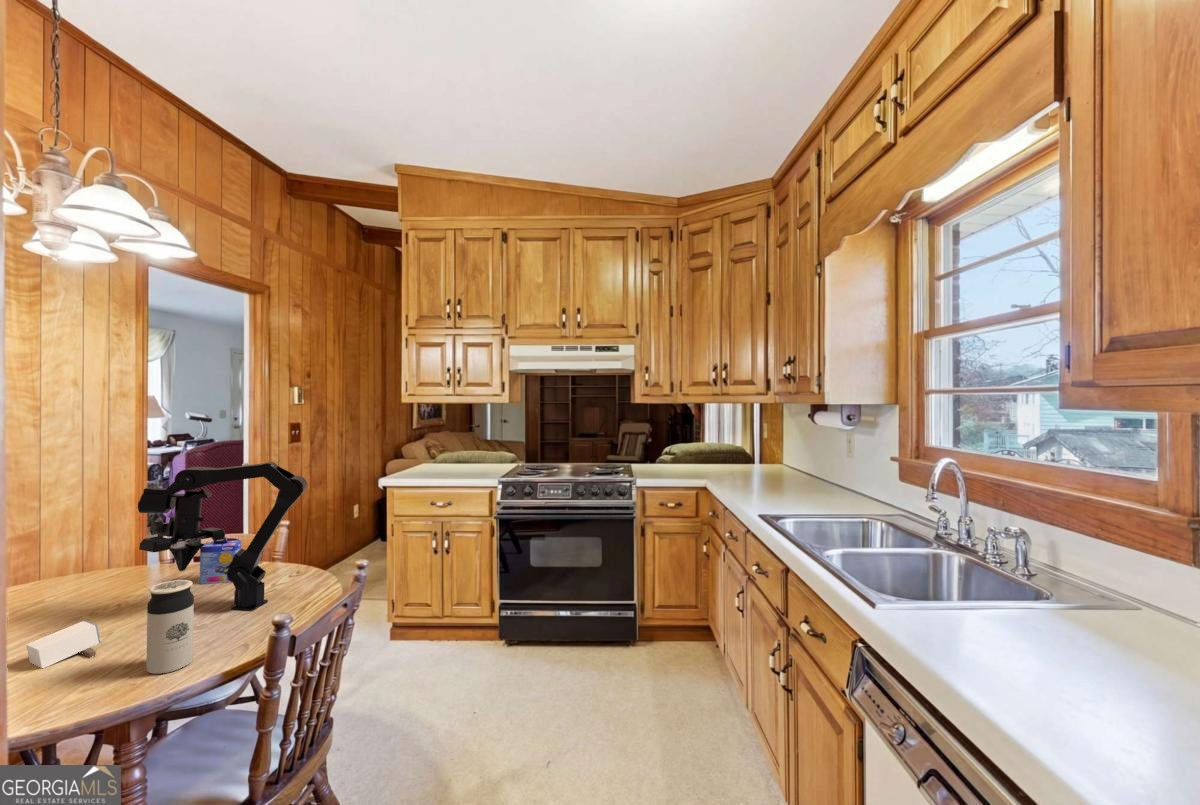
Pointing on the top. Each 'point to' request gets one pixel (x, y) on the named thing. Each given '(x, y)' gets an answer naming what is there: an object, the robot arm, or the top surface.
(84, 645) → the plain white block
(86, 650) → the strip
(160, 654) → the beige jar
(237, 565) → the robot arm
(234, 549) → the ink cartridge box
